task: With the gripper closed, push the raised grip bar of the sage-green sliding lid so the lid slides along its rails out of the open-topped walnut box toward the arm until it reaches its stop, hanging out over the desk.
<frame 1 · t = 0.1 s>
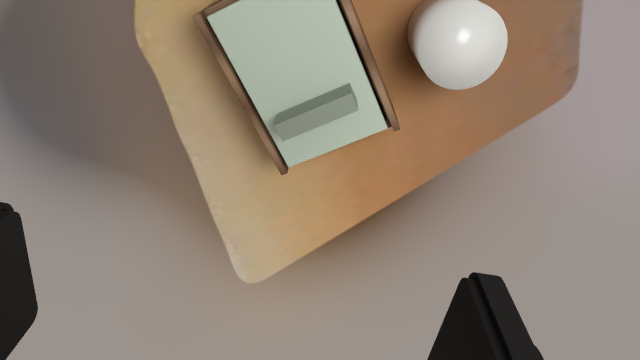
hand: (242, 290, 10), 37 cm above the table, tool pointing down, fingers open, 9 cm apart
white round canister: (444, 29, 43), on the table
walnut box: (306, 57, 45), on the table
lid: (301, 79, 38), point 7 cm above the table, slide at 0.0 cm
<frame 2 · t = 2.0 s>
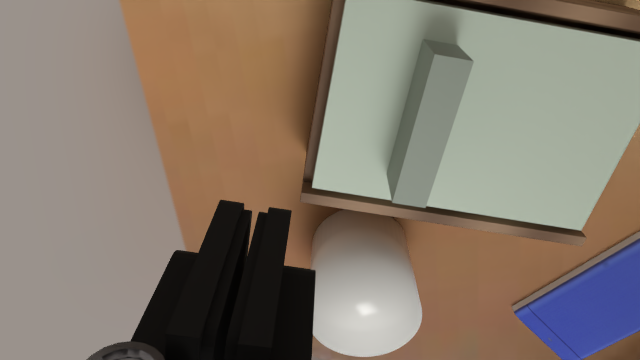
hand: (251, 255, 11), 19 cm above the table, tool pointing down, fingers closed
white round canister: (359, 246, 34), on the table
walnut box: (451, 86, 28), on the table
lid: (484, 131, 22), point 7 cm above the table, slide at 0.0 cm
blue book: (605, 287, 36), on the table
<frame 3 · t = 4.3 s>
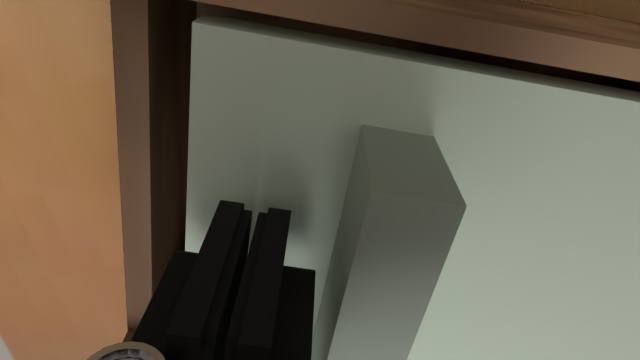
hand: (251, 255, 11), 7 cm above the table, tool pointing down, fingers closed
walnut box: (391, 156, 17), on the table
lid: (487, 298, 11), point 7 cm above the table, slide at 1.6 cm, touching gripper
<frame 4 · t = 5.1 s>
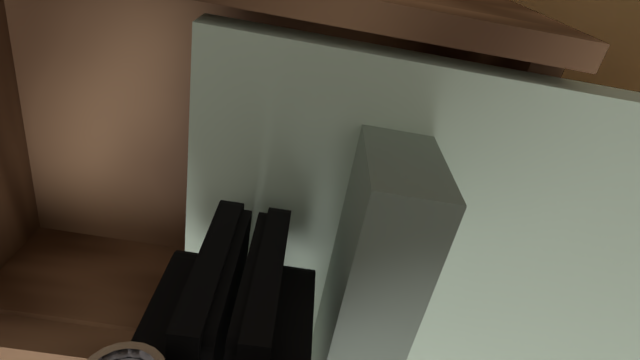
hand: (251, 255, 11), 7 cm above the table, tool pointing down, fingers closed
walnut box: (235, 130, 17), on the table
lid: (487, 298, 11), point 7 cm above the table, slide at 7.4 cm, touching gripper
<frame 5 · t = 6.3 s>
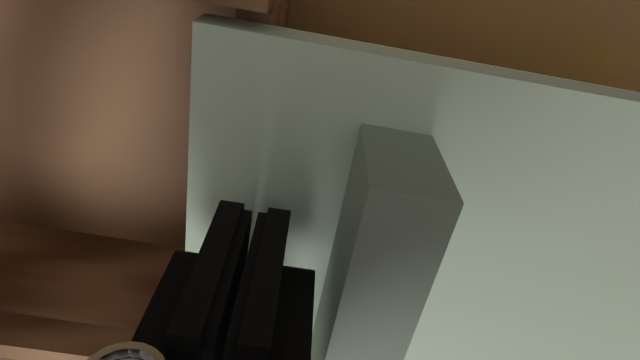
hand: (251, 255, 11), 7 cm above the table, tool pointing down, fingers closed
walnut box: (50, 99, 16), on the table
lid: (485, 296, 11), point 7 cm above the table, slide at 14.1 cm, touching gripper
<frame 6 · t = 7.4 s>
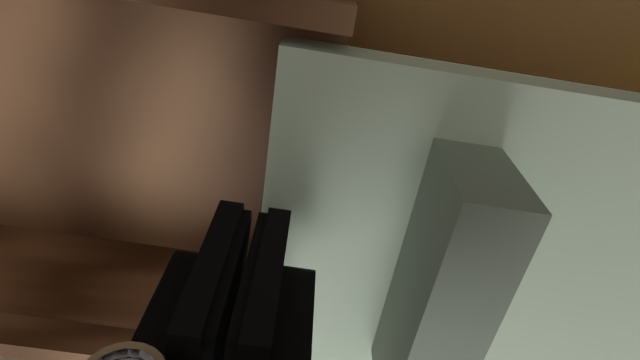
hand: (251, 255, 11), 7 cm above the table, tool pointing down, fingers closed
walnut box: (109, 114, 17), on the table
lid: (551, 301, 11), point 7 cm above the table, slide at 14.0 cm
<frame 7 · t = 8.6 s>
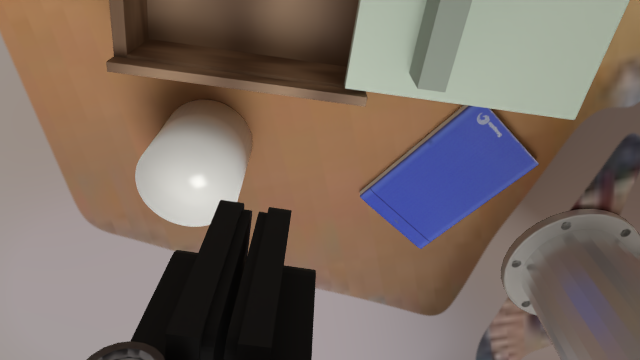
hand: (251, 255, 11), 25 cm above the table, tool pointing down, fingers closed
white round canister: (209, 140, 37), on the table
lid: (492, 26, 26), point 7 cm above the table, slide at 14.0 cm
blue book: (443, 171, 39), on the table
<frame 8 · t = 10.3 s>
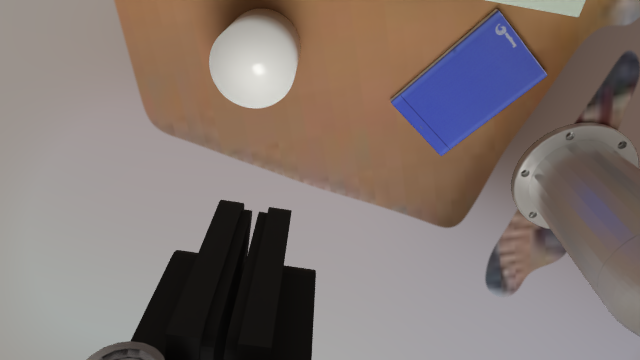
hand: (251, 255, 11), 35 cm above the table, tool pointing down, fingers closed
white round canister: (263, 47, 43), on the table
blue book: (463, 84, 45), on the table
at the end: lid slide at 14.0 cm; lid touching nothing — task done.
